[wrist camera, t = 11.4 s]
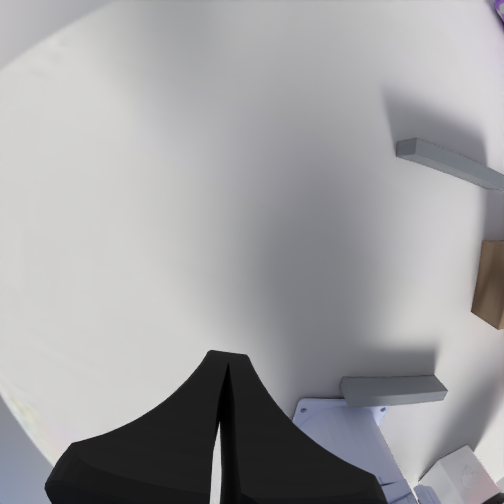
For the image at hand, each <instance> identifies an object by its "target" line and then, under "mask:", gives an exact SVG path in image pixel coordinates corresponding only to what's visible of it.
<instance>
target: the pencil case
mask: <svg viewBox="0 0 504 504" xmlns="http://www.w3.org/2000/svg"><path fill="white" fill-rule="evenodd" d="M494 5H495V9H496V11H497V12H498V14H499V15H500V17H501V18H502V20H503V22H504V0H495V3H494Z"/></svg>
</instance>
